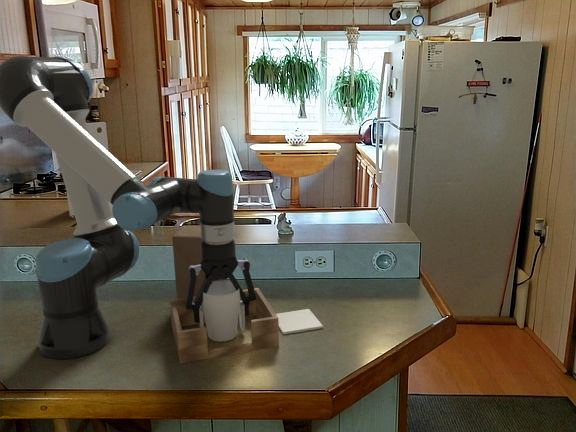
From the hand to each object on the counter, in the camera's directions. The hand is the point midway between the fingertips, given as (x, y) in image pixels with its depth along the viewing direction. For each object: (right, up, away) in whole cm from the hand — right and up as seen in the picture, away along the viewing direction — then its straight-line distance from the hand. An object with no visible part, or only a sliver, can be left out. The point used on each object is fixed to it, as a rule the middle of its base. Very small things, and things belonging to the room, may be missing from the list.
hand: (222, 331), depth 123 cm
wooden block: (-8, +4, +19) cm, 21 cm away
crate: (0, -1, 0) cm, 1 cm away
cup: (0, -1, 0) cm, 1 cm away
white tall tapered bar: (-77, +29, +118) cm, 144 cm away
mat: (+18, +1, +7) cm, 19 cm away
